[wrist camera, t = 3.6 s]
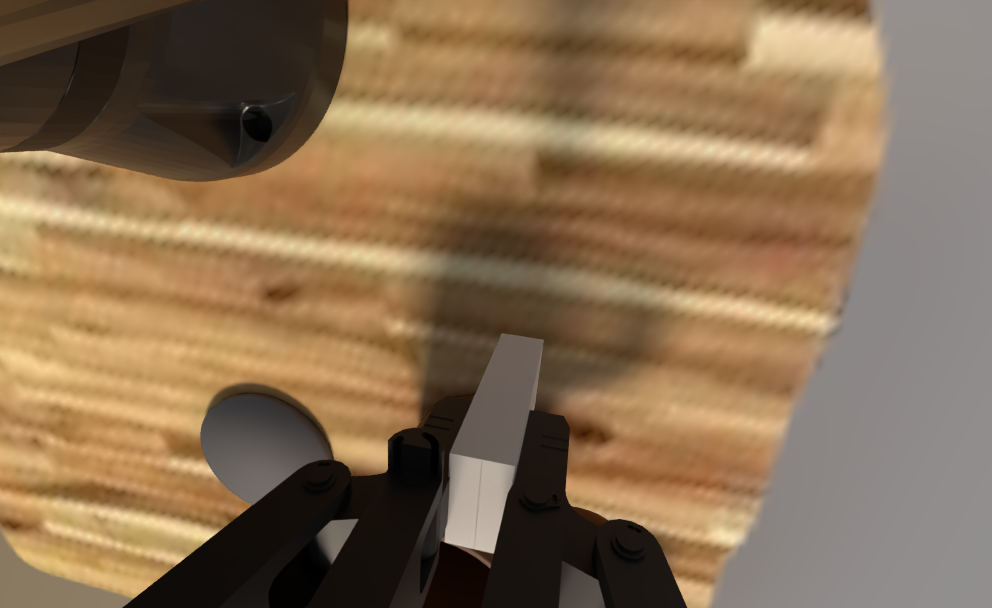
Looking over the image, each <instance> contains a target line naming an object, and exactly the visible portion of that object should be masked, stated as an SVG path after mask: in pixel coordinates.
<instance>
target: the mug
mask: <svg viewBox="0 0 992 608" xmlns="http://www.w3.org/2000/svg"><path fill="white" fill-rule="evenodd" d="M456 398H460V399H466V400H471V401H472V400H473V398H474V396H462V397H456ZM431 411H432V410H430V411H429V412H428V413H427V414H426V416H425V417H424V418H423V419H422V421H421V422H420V423H419V425H418V426H417V428H422V427H423V426H424V423H425V421H426V420H427V418H428V417H429V414H430V413H431ZM571 507H572V508H573V509H574V510H575V511H576V512H577V513H578V514H579V515H580V516H582V517H584V518H585V519H587V520H588V521H590V522H592V523H594V524H596V525H598V526H601V525H603V524H604V523H606V522H607V521H608V520H607V519H605V518H603V517H602V516H600V515H598V514H596V513H594V512H591V511H589V510H586V509H582V508H578V507H573V506H571ZM492 559H493V553H489V552H484V551H480V550H476V549H471V548H467V547H462V546H458V545H454V544H449V543H445V531H444V534H443V537H442V540H441V542H440V547H439V559H438V564H437V567H436V570H435V573H434V576H433V578H432V581H431V584H430V587H429V590H428V593H427V596H426V598H425V601H424V604H423V607H422V608H481V606H482V601H483V597H484V593H485V588H486V584H487V580H488V576H489V571H490V567H491V563H492Z"/></svg>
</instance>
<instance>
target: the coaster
mask: <svg viewBox="0 0 992 608" xmlns="http://www.w3.org/2000/svg"><path fill="white" fill-rule="evenodd" d="M201 446H202V450H203V453H204V456H205V458H206V461H207V462H208V464H209V466H210V468H211V469H212V471H213V472H214V474H215V475H216V476H217V478H218V479H219V480H220V481H221V482H222V483H223V484H224V485H225V486H226V487H227V488H228V489H229V490H230V491H231V492H232V493H234V494H235V495H236V496H238V497H239V498H241V499H242V500H244V501H246V502H247V503H249V504H251V505H254V504H255V503H256V502H257V501H259V500H260V499H261V498H262V497H264V496H265V495H266V494H267V493H269V492H270V491H271V490H273V489H274V488H275V487H276V486H278V485H279V484H280V483H281V482H283V481H284V480H285V479H287V478H288V477H289V476H290V475H292V474H293V473H294V472H295V471H297V470H298V469H300V468H301V467H303V466H305V465H306V464H308V463H311V462H315V461H318V460H333V457H332V453H331V450H330V448H329V446H328V443H327V442H326V440H325V438H324V436H323V435H322V434H321V432H320V431H319V429H318V428H317V427H316V426H315V425H314V424H313V422H312V421H311V420H309V419H308V418H307V417H306V416H305V415H304V414H303V413H301V412H300V411H299V410H297V409H296V408H294V407H293V406H291V405H289V404H287V403H285V402H283V401H281V400H279V399H276V398H274V397H271V396H267V395H263V394H256V393H243V394H237V395H233V396H230V397H228V398H226V399H224V400H223V401H221V402H220V403H219V404H217V405H216V406H215V407H214V408H212V409H211V410H210V411H209V412H208V414H207V415H206V417H205V418H204V421H203V423H202V427H201Z"/></svg>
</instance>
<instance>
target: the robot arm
mask: <svg viewBox="0 0 992 608" xmlns="http://www.w3.org/2000/svg"><path fill="white" fill-rule="evenodd" d="M345 39H346V4H345V0H0V153H4V152H23V151H51V152H55V153H59V154H64V155H68V156H72V157H77V158H81V159H85V160H89V161H94V162H98V163H102V164H106V165H111V166H115V167H119V168H124V169H128V170H132V171H136V172H141V173H145V174H149V175H153V176H158V177H162V178H166V179H172V180H178V181H193V182H207V181H217V180H223V179H229V178H236V177H242V176H247V175H252V174H256V173H259V172H262V171H265V170H267V169H270V168H272V167H274V166H276V165H278V164H280V163H281V162H283V161H284V160H286V159H287V158H289V157H290V156H291V155H292V154H294V153H295V152H296V151H297V150H298V149H299V148H300V147H301V146H303V145H304V143H305V142H306V141H307V140H308V139H309V138H310V137H311V135H312V134H313V133H314V131H315V130H316V129H317V127H318V126H319V124H320V122H321V121H322V119H323V117H324V115H325V113H326V112H327V110H328V108H329V105H330V103H331V101H332V98H333V96H334V93H335V90H336V87H337V84H338V80H339V76H340V72H341V68H342V63H343V57H344V49H345ZM543 342H544V340H542V339H536V338H530V337H523V336H517V335H511V334H504V333H502V334H501V336H500V338H499V341H498V343H497V345H496V348H495V350H494V352H493V354H492V357H491V359H490V361H489V364H488V366H487V368H486V371H485V373H484V375H483V377H482V380H481V382H480V384H479V387H478V389H477V391H476V394H475V396H474V398H473V400H472V401H471V400H466V399H460V398H455V397H449V396H446V397H445V398H444V399H442V400H441V401H439V402H438V403H436V404H435V405H434V407H433V409H432V411H431V413H430V414H429V417H428V418H427V420H426V421H425V423H424V426H423V427H422V428H410V429H404V430H402V431H400V432H398V433H395V434H394V435H393V436H392V437H391V438H390V439H389V440H388V470H387V472H385V473H382V474H379V475H371V476H351V473H350V471H349V468H348V467H347V466H346V465H344V464H343V463H342V462H339V461H335V460H318V461H315V462H311V463H308V464H306V465H305V466H303V467H301V468H300V469H298V470H297V471H295V472H294V473H293V474H292V475H290V476H289V477H288V478H287V479H285V480H284V481H283V482H281V483H280V484H279V485H278V486H276V487H275V488H274V489H273V490H271V491H270V492H269V493H267V494H266V495H265V496H264V497H262V498H261V499H260V500H259V501H257V502H256V503H255V504H254V505H252V506H251V507H250V508H248V509H247V510H246V511H245V512H243V513H242V514H241V515H240V516H238V517H237V518H236V519H234V520H233V521H232V522H231V523H229V524H228V525H227V526H226V527H224V528H223V529H222V530H220V531H219V532H218V533H217V534H215V535H214V536H213V537H212V538H210V539H209V540H208V541H207V542H205V543H204V544H203V545H201V546H200V547H199V548H198V549H196V550H195V551H194V552H193V553H191V554H190V555H189V556H187V557H186V558H185V559H184V560H182V561H181V562H180V563H179V564H177V565H176V566H175V567H173V568H172V569H171V570H170V571H168V572H167V573H166V574H165V575H163V576H162V577H161V578H160V579H158V580H157V581H156V582H154V583H153V584H152V585H151V586H149V587H148V588H147V589H146V590H144V591H143V592H142V593H140V594H139V595H138V596H137V597H135V598H134V599H133V600H132V601H130V602H129V603H128V604H127V605H125V606H124V607H123V608H422V607H423V604H424V601H425V598H426V596H427V593H428V590H429V587H430V584H431V581H432V578H433V576H434V573H435V570H436V567H437V564H438V559H439V547H440V542H441V540H442V537H443V534H444V531H445V543H449V544H454V545H458V546H462V547H467V548H471V549H476V550H480V551H484V552H489V553H493V559H492V563H491V567H490V571H489V576H488V580H487V584H486V588H485V593H484V597H483V601H482V606H481V608H687V606H686V604H685V602H684V599H683V597H682V595H681V592H680V590H679V588H678V585H677V583H676V581H675V578H674V576H673V574H672V572H671V569H670V567H669V565H668V562H667V560H666V558H665V555H664V553H663V551H662V549H661V546H660V545H659V543H658V542H657V540H656V538H655V537H654V535H652V534H651V533H650V532H649V531H648V530H646V529H645V528H644V527H643V526H640V525H638V524H636V523H634V522H632V521H627V520H622V519H617V520H610V521H607V522H606V523H604V524H603V525H601V526H598V525H596V524H594V523H592V522H590V521H588V520H587V519H585V518H584V517H582V516H580V515H579V514H578V513H577V512H576V511H575V510H574V509H573V508H572V507H571V505H570V504H569V502H568V500H567V497H566V491H565V488H566V474H567V461H568V447H569V434H570V427H569V425H568V423H567V422H566V420H565V418H564V416H561V415H555V414H550V413H544V412H539V411H534V408H535V402H536V394H537V387H538V380H539V372H540V365H541V357H542V350H543Z"/></svg>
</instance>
